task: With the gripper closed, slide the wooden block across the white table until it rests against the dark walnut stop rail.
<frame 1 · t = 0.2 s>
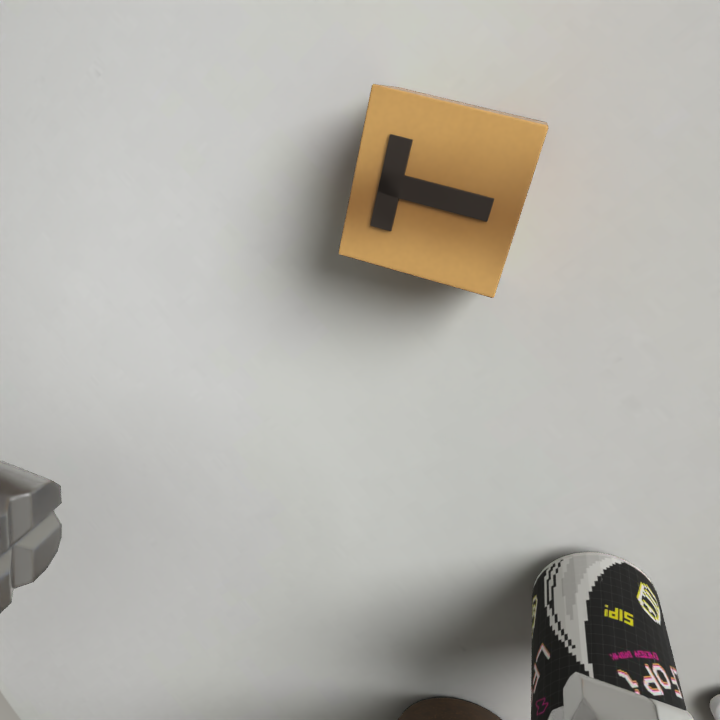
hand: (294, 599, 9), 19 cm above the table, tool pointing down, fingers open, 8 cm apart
beverage can: (592, 587, 31), on the table
wooden block: (449, 182, 25), on the table
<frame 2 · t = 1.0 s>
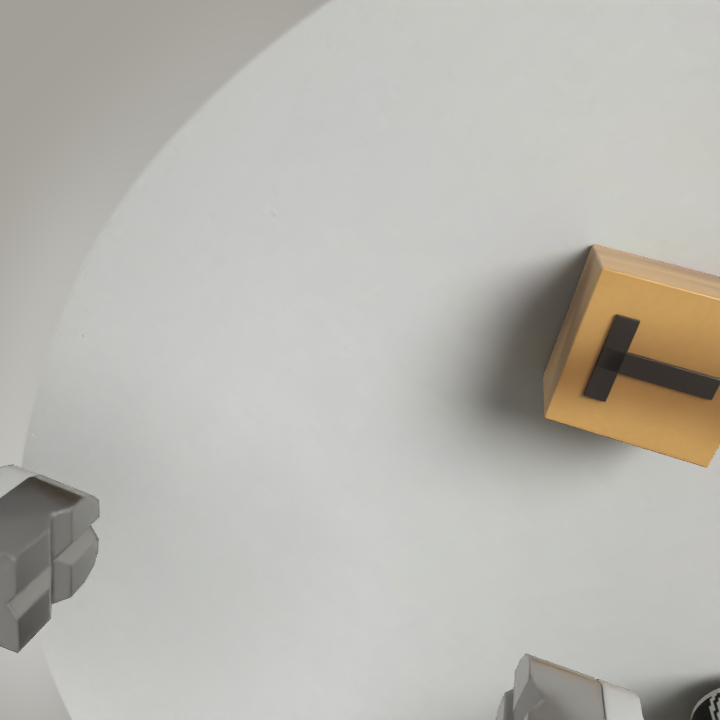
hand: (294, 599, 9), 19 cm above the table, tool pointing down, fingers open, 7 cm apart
wooden block: (639, 334, 25), on the table
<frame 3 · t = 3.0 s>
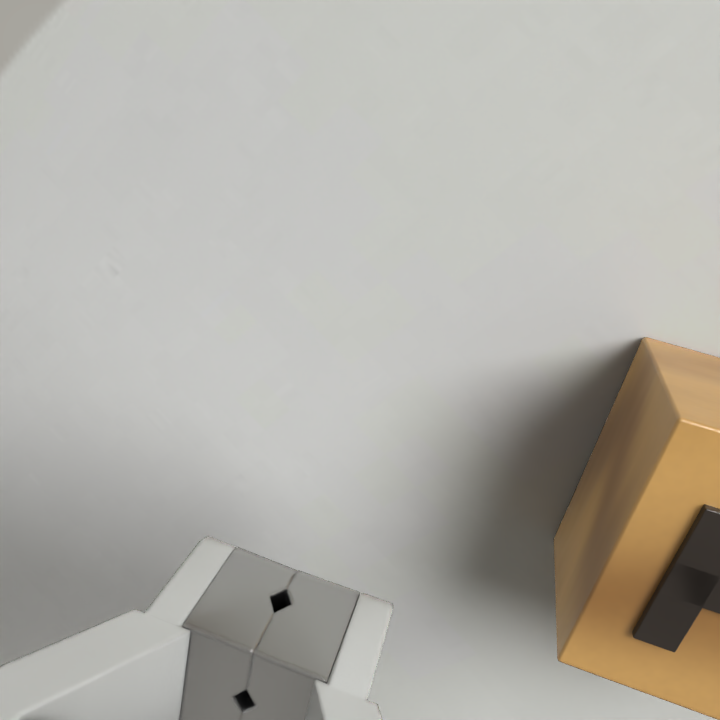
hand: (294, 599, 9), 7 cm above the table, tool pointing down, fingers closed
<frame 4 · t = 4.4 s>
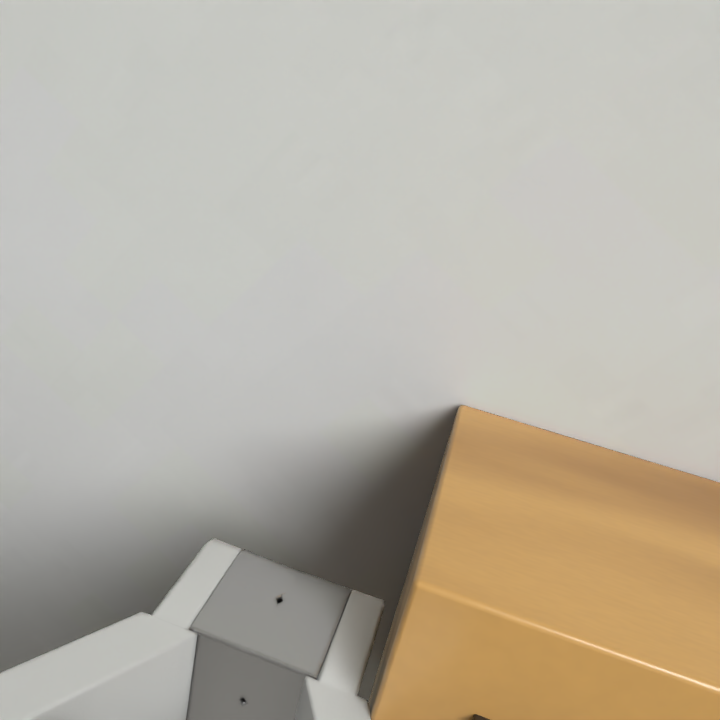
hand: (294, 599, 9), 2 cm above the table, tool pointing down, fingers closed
wooden block: (587, 608, 10), on the table, touching gripper
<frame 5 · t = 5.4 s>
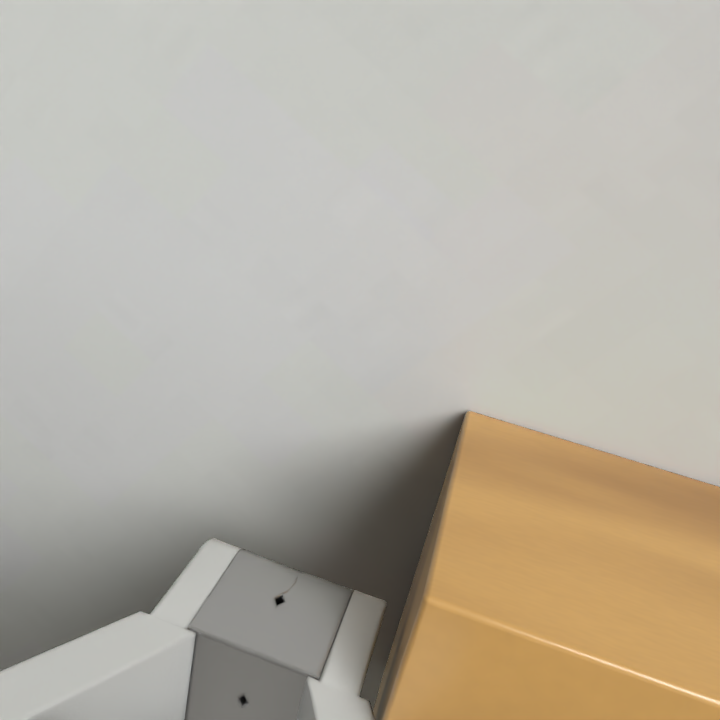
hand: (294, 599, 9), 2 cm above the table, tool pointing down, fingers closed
wooden block: (595, 617, 10), on the table, touching gripper
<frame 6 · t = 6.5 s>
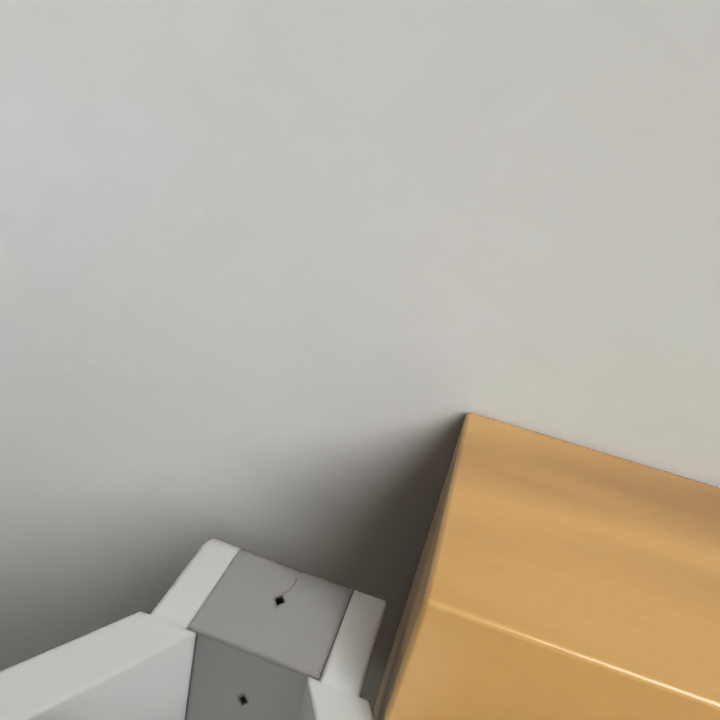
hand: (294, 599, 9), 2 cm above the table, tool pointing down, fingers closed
wooden block: (596, 619, 10), on the table, touching gripper
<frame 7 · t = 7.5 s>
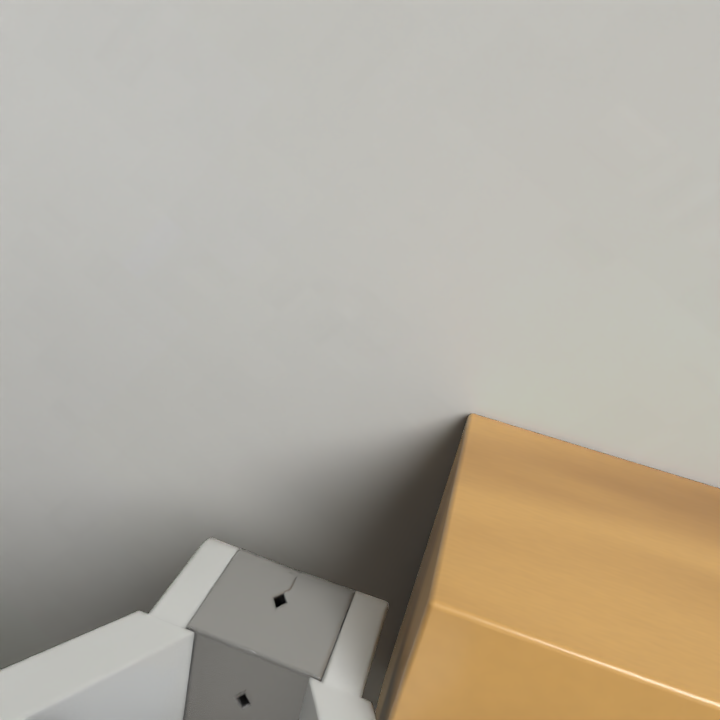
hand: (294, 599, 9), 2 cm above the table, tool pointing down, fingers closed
wooden block: (598, 620, 10), on the table, touching gripper
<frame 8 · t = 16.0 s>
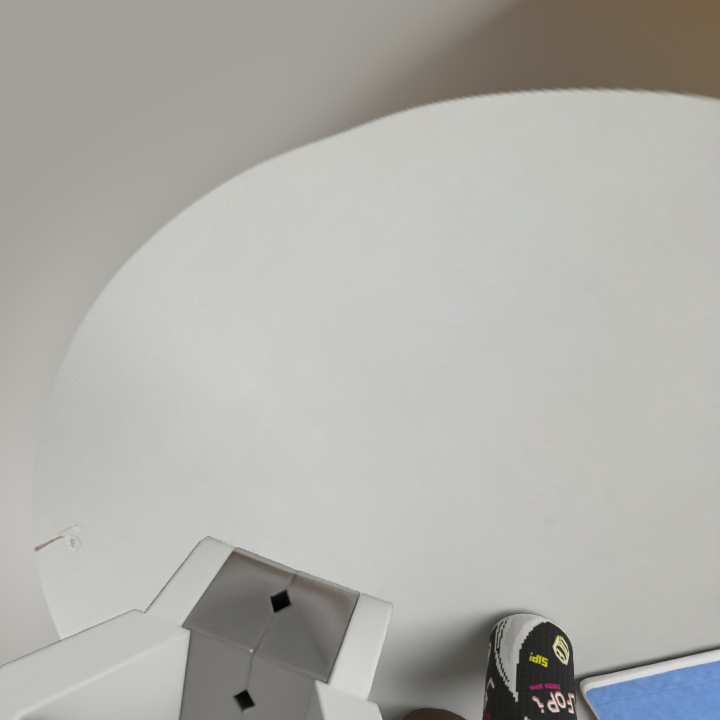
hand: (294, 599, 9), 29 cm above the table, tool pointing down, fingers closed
beverage can: (530, 635, 45), on the table
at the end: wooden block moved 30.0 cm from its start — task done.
